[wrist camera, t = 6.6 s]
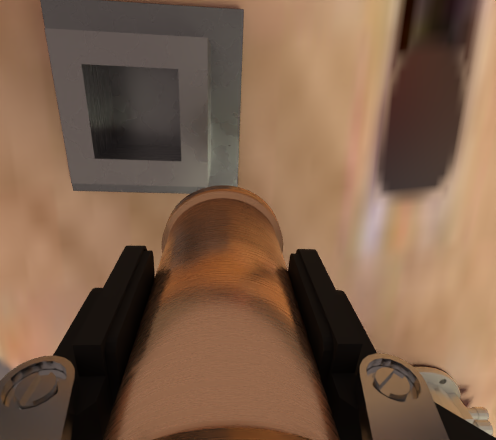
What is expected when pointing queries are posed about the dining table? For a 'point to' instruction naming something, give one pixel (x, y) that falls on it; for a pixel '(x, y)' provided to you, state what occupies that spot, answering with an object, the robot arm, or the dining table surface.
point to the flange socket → (147, 93)
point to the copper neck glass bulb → (221, 334)
